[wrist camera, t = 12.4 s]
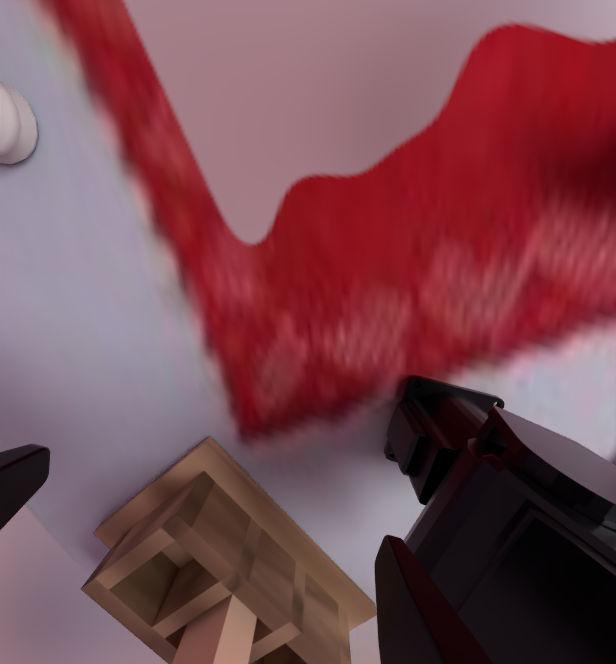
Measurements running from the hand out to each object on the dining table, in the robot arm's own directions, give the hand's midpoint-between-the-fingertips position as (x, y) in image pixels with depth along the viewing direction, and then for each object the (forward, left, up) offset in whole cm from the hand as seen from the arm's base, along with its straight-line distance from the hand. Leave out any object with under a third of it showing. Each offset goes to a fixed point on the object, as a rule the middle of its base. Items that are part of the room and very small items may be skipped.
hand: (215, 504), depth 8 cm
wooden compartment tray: (-1, +19, -13) cm, 23 cm away
